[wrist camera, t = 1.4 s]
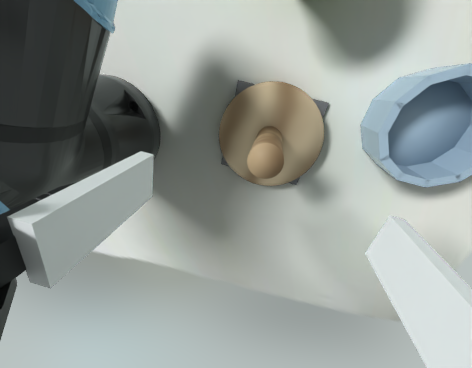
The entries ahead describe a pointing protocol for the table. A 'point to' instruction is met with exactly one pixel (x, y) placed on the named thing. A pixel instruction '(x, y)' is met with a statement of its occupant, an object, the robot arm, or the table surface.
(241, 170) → the lid
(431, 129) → the bowl
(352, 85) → the table surface
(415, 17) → the table surface
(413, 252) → the robot arm
